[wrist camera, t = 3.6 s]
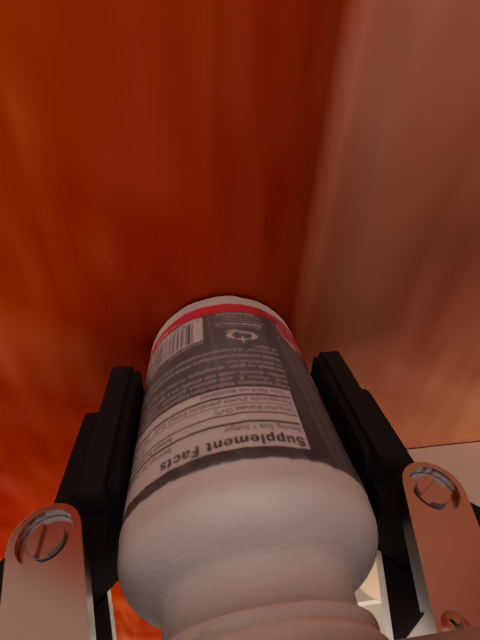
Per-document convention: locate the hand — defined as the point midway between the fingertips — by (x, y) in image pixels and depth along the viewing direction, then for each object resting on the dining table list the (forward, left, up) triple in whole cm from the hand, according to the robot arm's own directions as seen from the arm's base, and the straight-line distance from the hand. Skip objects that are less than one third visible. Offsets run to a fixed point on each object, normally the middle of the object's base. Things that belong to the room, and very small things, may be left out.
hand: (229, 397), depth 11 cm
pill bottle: (0, 0, -2) cm, 2 cm away
